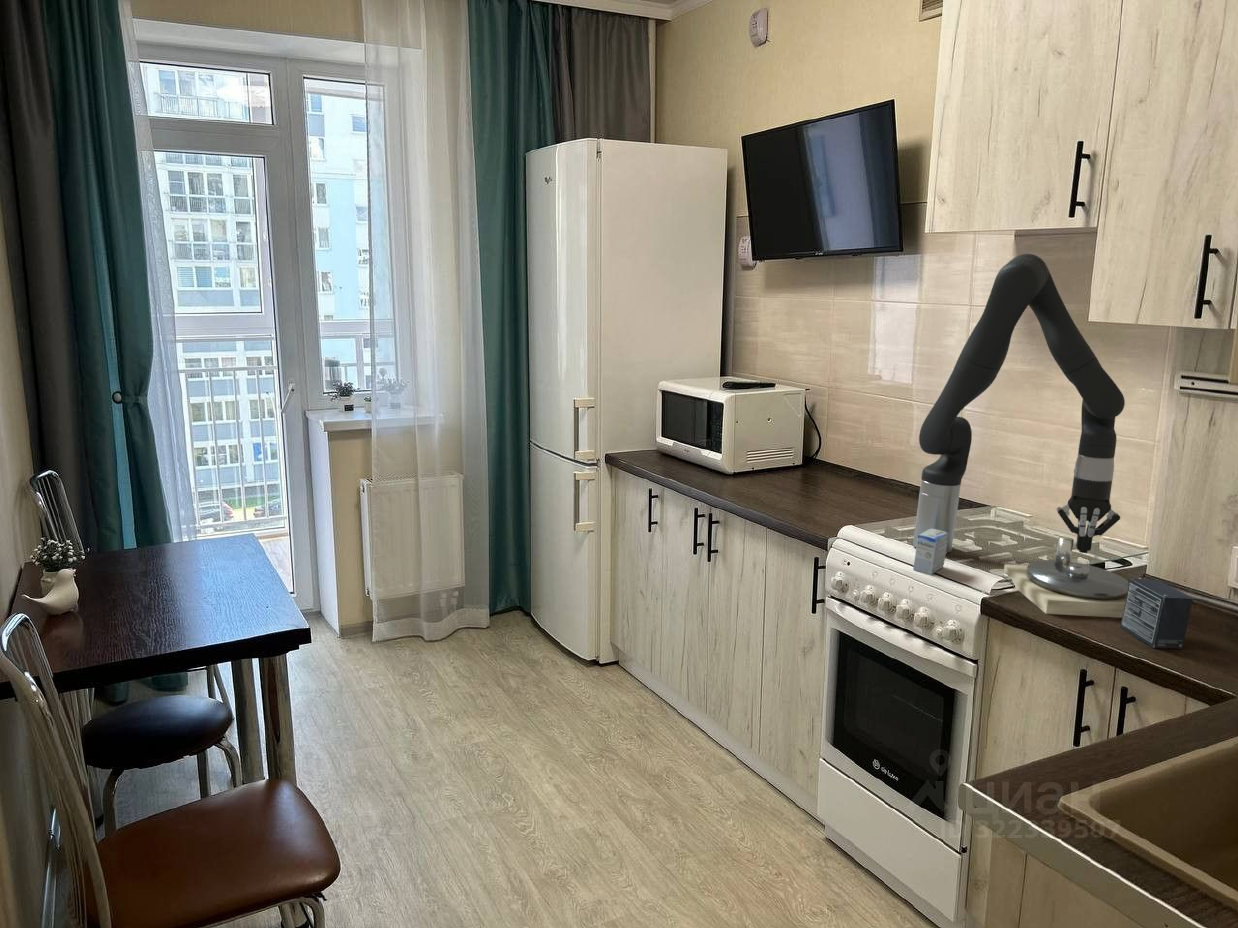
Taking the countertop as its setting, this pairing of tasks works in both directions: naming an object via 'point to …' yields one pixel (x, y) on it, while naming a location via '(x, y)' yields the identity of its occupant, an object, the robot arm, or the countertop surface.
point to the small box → (1156, 613)
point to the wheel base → (1062, 598)
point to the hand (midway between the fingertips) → (1082, 551)
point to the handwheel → (1076, 576)
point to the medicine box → (930, 551)
